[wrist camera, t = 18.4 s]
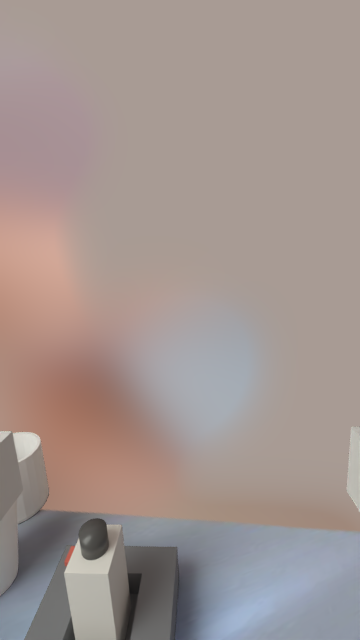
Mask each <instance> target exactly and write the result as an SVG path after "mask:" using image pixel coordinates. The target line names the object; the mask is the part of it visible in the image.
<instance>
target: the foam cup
mask: <svg viewBox="0 0 360 640" xmlns="http://www.w3.org/2000/svg"><path fill="white" fill-rule="evenodd" d="M17 572H18V528H17V499H16V501H15V502H14V504H13V505H12V506H11V508H10V509H9V510H8V512H7V513H6V514H5V516H4V517H3V518H2V520H1V521H0V596H1V595H2V594H3V593H4V592H5V591H6V590H7V589H8V588H9V587H10V586H11V584H12V583H13V581H14V579H15V578H16V576H17Z"/></svg>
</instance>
